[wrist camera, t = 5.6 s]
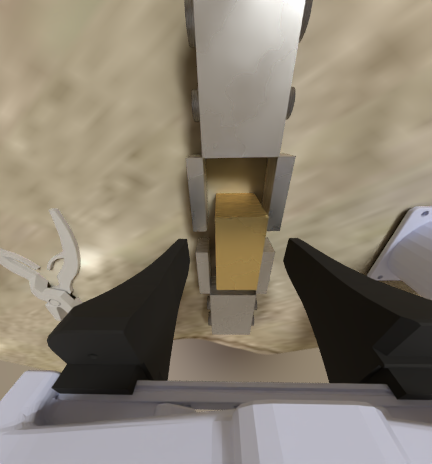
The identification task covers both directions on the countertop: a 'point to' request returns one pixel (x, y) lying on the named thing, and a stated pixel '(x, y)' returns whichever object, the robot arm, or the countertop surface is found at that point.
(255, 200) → the brushed brass bar
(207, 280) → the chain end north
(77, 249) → the pliers
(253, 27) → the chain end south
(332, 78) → the countertop surface
